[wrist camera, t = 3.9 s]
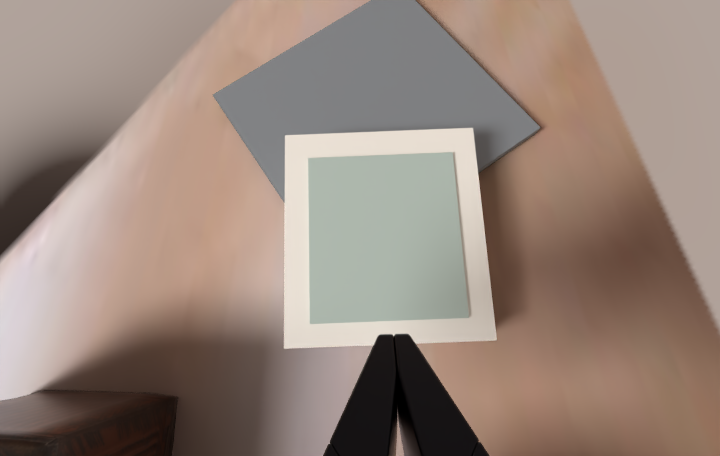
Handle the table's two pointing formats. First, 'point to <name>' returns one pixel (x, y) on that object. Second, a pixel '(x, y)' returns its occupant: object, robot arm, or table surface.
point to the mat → (372, 88)
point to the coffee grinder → (87, 424)
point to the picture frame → (384, 239)
